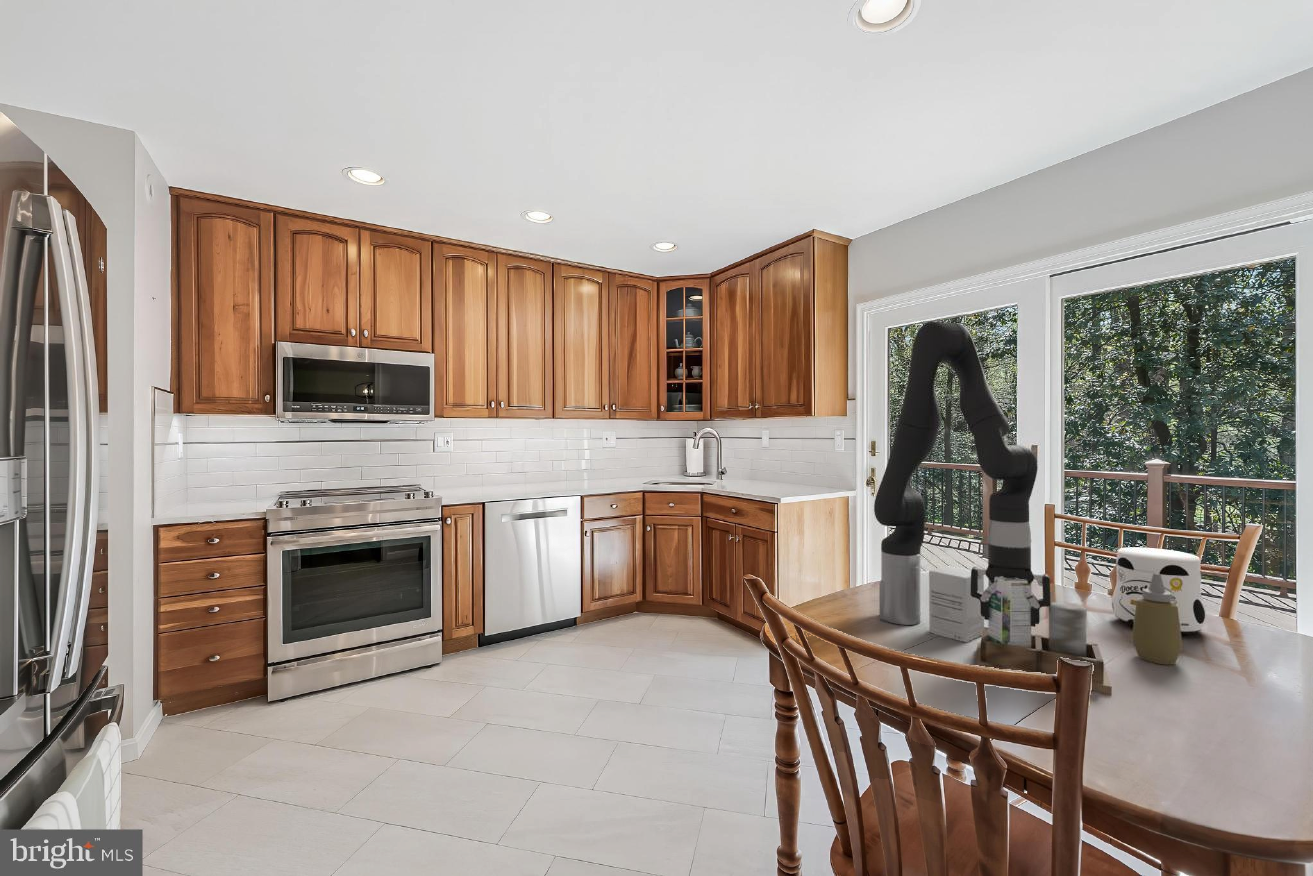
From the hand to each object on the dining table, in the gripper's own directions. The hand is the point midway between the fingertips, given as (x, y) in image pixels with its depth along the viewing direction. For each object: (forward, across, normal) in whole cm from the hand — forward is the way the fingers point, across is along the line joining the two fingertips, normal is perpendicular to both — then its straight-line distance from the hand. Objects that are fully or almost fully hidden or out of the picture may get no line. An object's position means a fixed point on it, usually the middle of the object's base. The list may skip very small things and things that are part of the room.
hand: (1009, 622), depth 119 cm
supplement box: (+9, -11, +15) cm, 21 cm away
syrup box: (+5, 0, 0) cm, 5 cm away
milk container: (+9, +30, +45) cm, 55 cm away
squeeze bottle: (+9, +26, +19) cm, 33 cm away
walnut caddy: (+9, +5, 0) cm, 10 cm away
